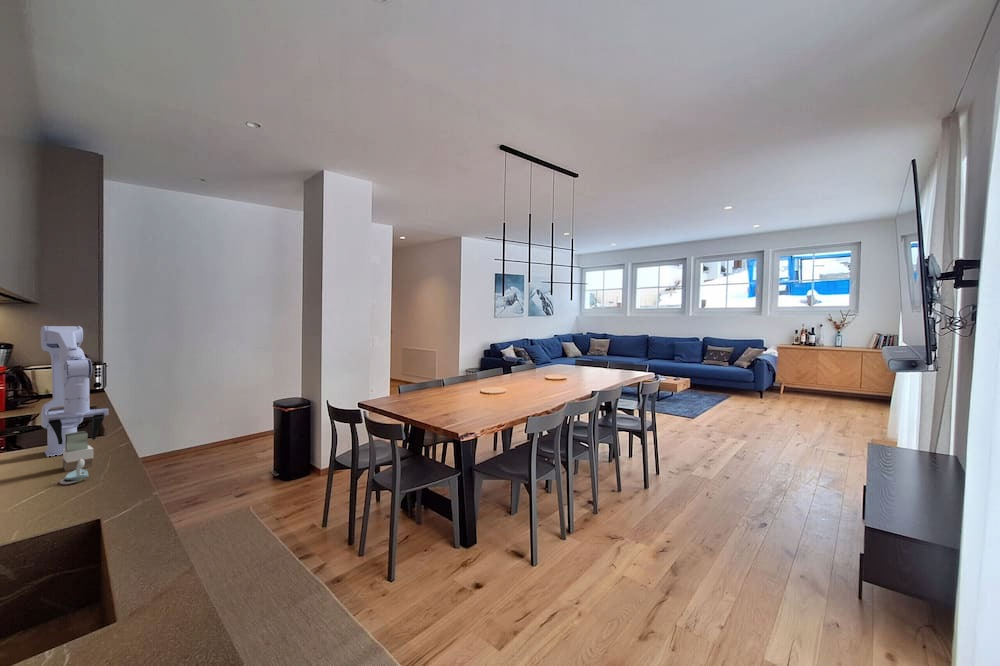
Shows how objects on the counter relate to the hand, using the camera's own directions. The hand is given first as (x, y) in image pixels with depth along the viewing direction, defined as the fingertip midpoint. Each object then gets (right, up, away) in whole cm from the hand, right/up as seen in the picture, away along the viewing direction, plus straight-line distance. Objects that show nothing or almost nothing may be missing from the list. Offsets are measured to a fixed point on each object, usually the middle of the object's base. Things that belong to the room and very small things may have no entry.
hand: (77, 441), depth 134 cm
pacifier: (+10, -9, -11) cm, 17 cm away
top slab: (0, -6, 0) cm, 6 cm away
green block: (0, -3, 0) cm, 3 cm away
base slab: (0, -9, 0) cm, 8 cm away
